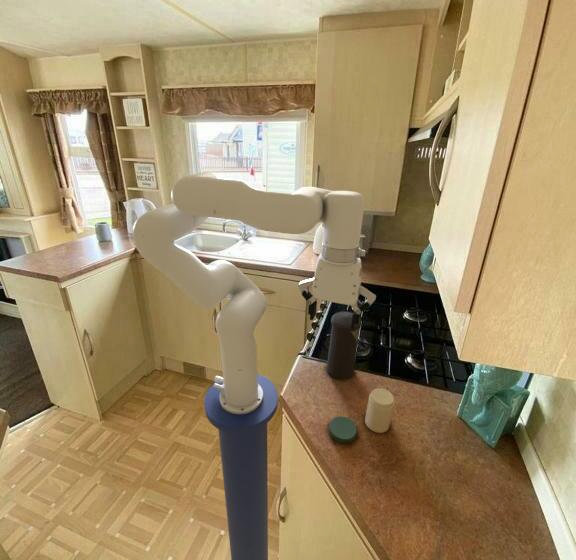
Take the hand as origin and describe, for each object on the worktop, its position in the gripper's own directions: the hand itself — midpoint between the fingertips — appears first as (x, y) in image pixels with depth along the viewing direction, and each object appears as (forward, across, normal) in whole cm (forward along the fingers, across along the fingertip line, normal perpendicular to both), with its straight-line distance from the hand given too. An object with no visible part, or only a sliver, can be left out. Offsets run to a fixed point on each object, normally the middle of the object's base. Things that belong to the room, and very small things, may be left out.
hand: (332, 321), depth 73 cm
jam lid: (+27, -6, +5) cm, 28 cm away
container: (+28, -1, -17) cm, 33 cm away
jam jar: (+28, -14, -1) cm, 32 cm away
